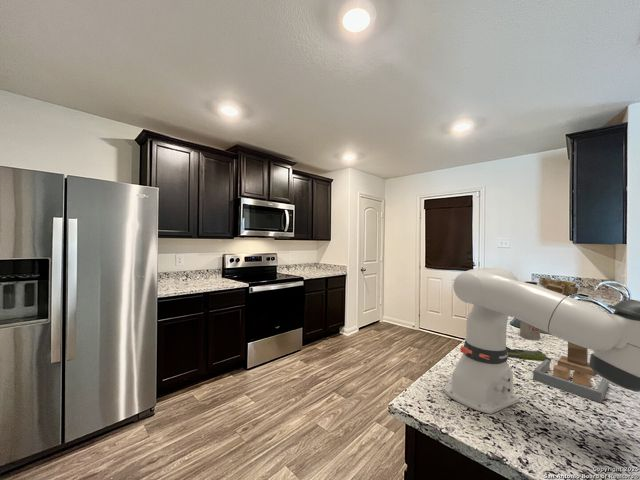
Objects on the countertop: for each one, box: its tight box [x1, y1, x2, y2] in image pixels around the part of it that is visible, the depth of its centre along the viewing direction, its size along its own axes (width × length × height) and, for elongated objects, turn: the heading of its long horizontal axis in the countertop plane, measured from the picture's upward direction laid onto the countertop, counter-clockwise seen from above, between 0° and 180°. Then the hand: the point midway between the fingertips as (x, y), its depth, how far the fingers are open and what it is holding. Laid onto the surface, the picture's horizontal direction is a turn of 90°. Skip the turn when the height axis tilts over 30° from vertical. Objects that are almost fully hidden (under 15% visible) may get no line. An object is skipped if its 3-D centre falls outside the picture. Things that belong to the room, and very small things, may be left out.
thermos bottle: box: [519, 281, 541, 341], centre depth 133 cm, size 8×8×28 cm
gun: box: [506, 346, 552, 362], centre depth 115 cm, size 2×19×15 cm
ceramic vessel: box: [538, 276, 579, 296], centre depth 207 cm, size 23×24×25 cm
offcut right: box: [572, 370, 592, 388], centre depth 90 cm, size 4×4×3 cm
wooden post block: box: [556, 342, 597, 377], centre depth 101 cm, size 8×10×14 cm
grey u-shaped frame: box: [532, 359, 610, 404], centre depth 90 cm, size 16×16×3 cm
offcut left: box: [552, 364, 572, 381], centre depth 95 cm, size 4×4×3 cm
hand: (627, 356), depth 91 cm, fingers open, 8 cm apart
